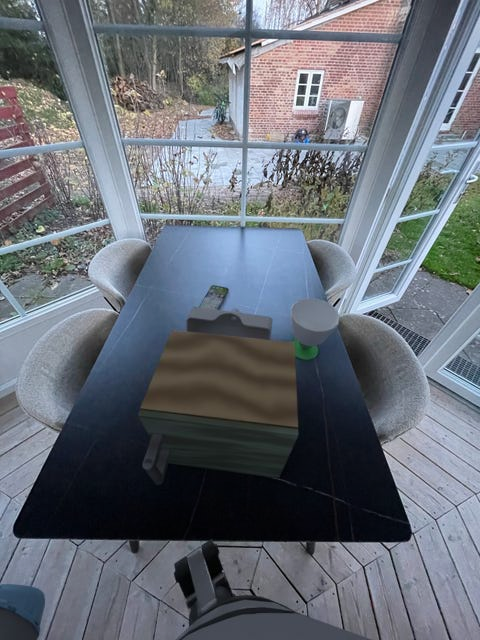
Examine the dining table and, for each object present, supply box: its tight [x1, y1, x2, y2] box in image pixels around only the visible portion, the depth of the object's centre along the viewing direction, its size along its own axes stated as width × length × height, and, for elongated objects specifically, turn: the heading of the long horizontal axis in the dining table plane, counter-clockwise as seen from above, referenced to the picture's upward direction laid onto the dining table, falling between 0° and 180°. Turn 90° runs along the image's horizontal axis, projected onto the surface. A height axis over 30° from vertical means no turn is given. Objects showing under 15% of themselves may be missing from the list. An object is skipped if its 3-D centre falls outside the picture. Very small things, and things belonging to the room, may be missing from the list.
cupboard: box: [140, 329, 299, 430], centre depth 59 cm, size 18×26×24 cm
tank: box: [185, 306, 273, 340], centre depth 83 cm, size 25×16×12 cm, turn 80°
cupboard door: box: [137, 409, 299, 486], centre depth 50 cm, size 7×26×24 cm, turn 84°
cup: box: [290, 297, 341, 361], centre depth 80 cm, size 14×14×16 cm
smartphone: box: [198, 284, 229, 310], centre depth 101 cm, size 7×1×15 cm
